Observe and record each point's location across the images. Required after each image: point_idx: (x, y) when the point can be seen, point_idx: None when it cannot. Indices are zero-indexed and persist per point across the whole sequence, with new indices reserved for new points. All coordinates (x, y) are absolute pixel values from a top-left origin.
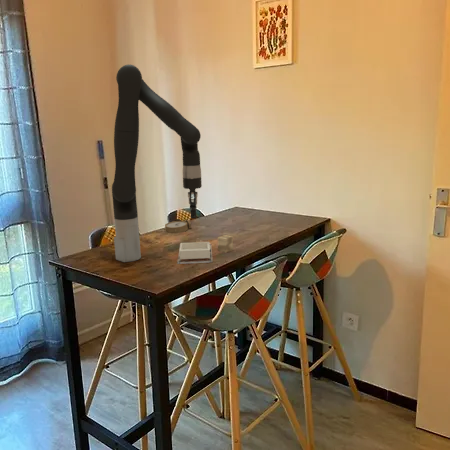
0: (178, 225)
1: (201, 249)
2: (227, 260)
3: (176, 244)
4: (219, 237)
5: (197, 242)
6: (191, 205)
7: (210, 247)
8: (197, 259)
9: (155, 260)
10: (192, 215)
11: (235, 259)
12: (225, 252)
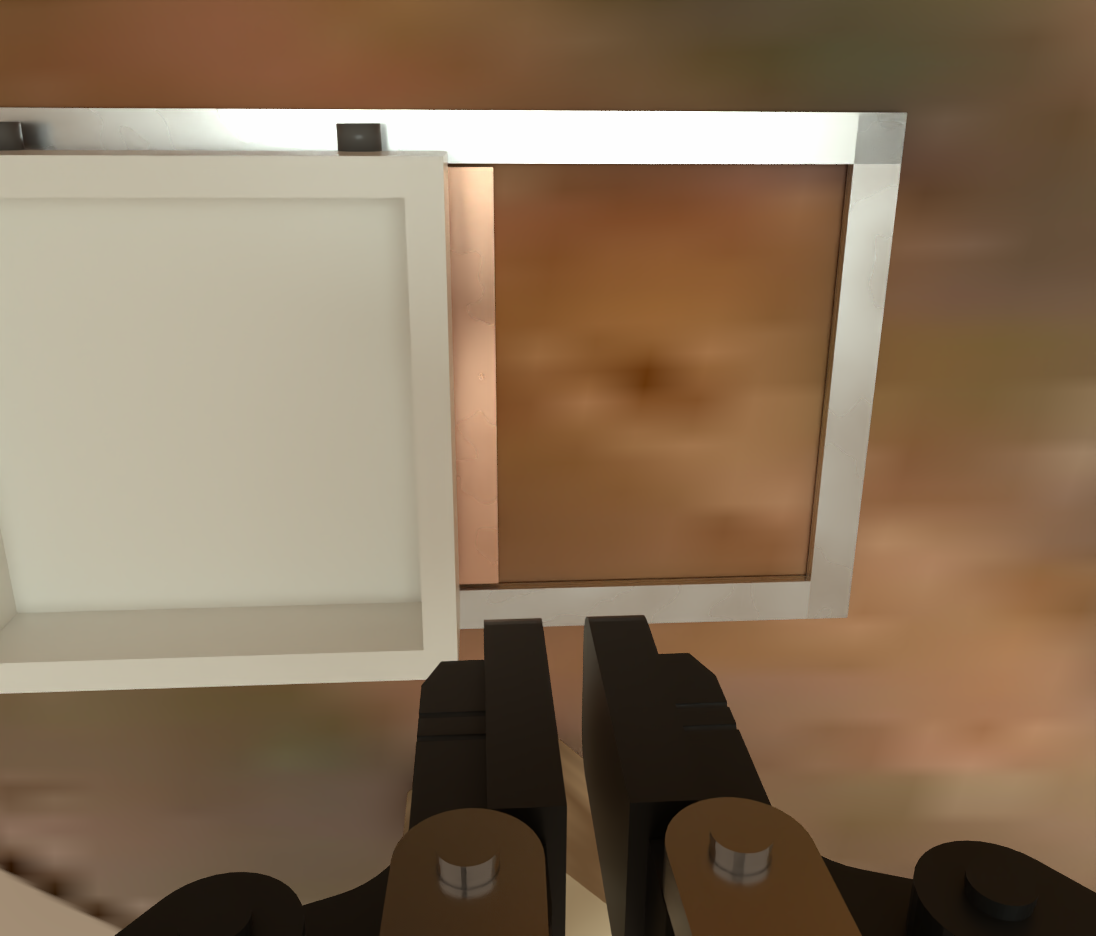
0: None
1: (359, 512)
2: (50, 810)
3: (1029, 36)
4: None
5: (438, 487)
6: (915, 922)
7: (653, 609)
8: None
9: None
10: (421, 725)
11: (95, 895)
12: (411, 790)
